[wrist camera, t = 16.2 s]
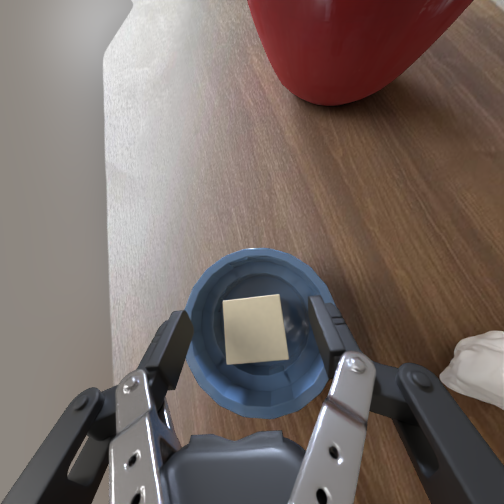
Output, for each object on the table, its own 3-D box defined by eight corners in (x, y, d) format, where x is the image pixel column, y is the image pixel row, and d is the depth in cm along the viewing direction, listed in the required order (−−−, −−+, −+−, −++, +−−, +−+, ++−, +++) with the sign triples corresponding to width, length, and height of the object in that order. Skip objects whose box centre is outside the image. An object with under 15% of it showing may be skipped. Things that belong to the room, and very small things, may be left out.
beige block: (245, 341, 20) (226, 365, 13) (241, 301, 22) (222, 300, 14) (284, 338, 20) (289, 359, 12) (278, 297, 21) (279, 293, 14)
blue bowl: (189, 357, 21) (158, 377, 16) (228, 249, 24) (213, 233, 19) (306, 407, 19) (320, 453, 13) (333, 279, 22) (354, 270, 16)
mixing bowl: (221, 67, 34) (180, -111, 20) (355, 0, 35) (414, -226, 20) (300, 175, 26) (332, 6, 11) (475, 85, 26) (731, -195, 11)
